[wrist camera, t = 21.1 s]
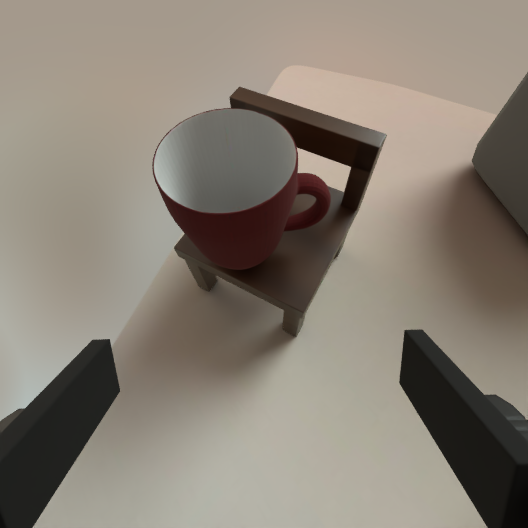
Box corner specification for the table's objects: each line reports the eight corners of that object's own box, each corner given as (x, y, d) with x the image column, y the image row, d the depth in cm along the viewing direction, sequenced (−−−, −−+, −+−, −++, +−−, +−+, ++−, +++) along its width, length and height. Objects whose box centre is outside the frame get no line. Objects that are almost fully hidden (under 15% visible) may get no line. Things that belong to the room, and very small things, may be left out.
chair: (297, 340, 31) (313, 270, 18) (194, 286, 34) (142, 191, 21) (345, 245, 36) (387, 134, 22) (251, 205, 39) (239, 86, 25)
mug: (303, 194, 29) (315, 89, 20) (333, 272, 25) (365, 185, 16) (186, 220, 28) (146, 121, 19) (200, 304, 24) (158, 230, 15)
